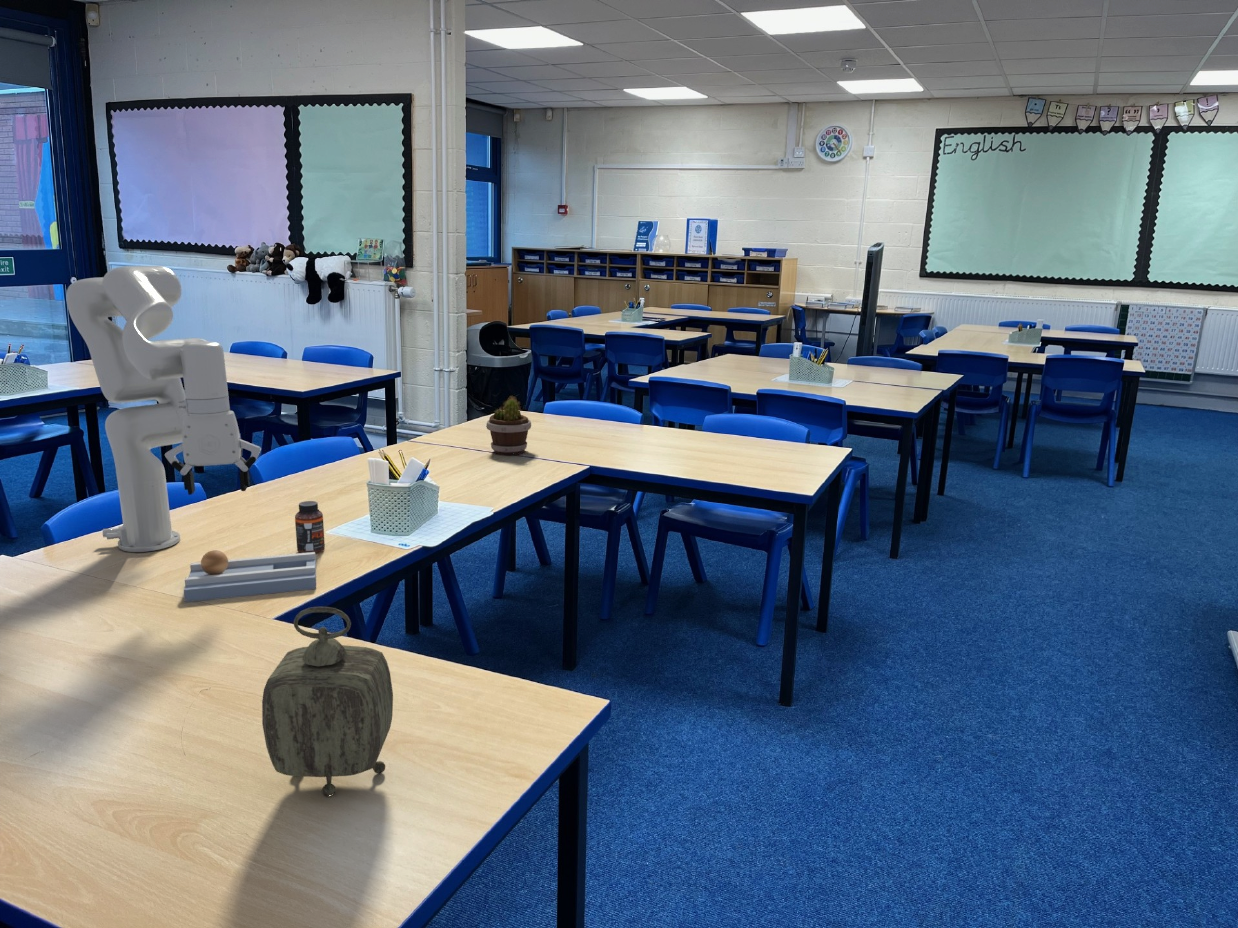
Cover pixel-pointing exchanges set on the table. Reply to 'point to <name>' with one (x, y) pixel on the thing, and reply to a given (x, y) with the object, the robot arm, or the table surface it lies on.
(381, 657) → the tabletop clock
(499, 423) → the flowerpot
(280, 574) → the track
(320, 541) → the supplement bottle
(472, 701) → the table surface
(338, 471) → the table surface
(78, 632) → the table surface
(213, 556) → the ball
